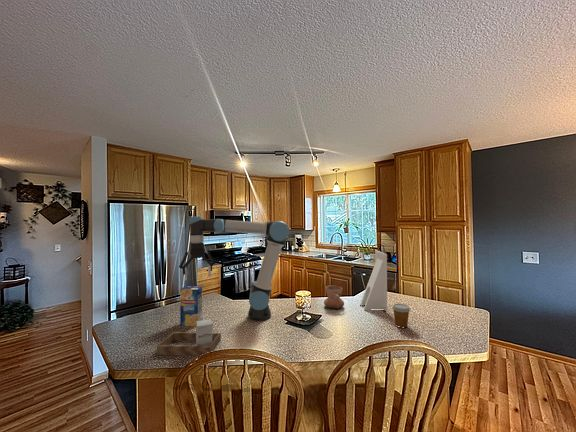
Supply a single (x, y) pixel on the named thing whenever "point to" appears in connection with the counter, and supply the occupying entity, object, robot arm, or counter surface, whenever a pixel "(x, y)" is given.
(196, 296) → the beverage box
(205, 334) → the supplement box
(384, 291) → the grey tall wedge
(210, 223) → the robot arm
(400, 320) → the disposable coffee cup
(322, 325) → the counter surface
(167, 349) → the frame
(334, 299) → the ceramic jug
